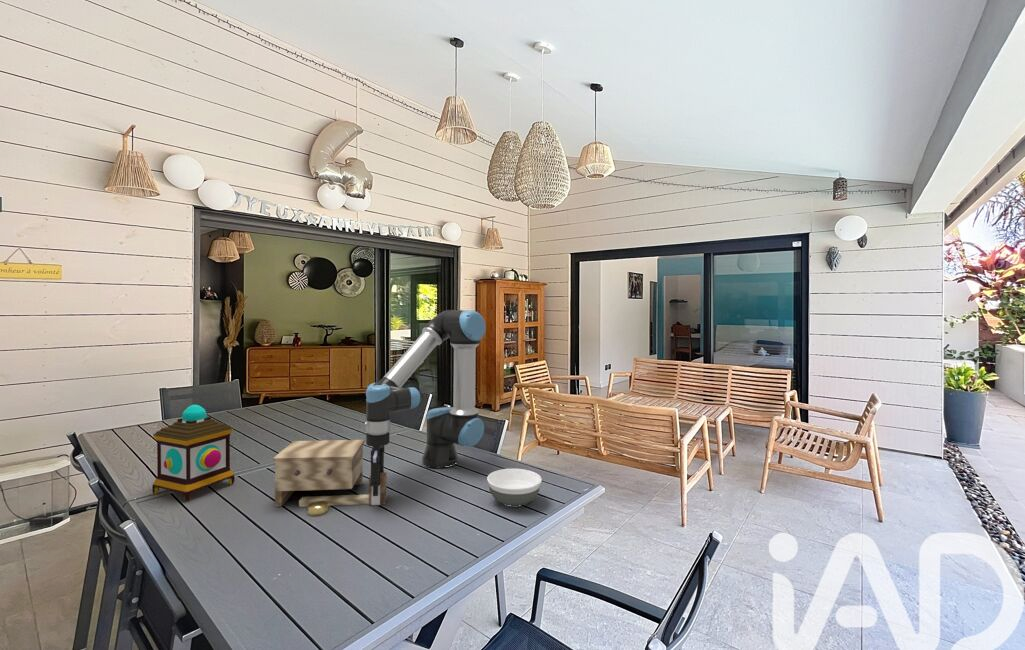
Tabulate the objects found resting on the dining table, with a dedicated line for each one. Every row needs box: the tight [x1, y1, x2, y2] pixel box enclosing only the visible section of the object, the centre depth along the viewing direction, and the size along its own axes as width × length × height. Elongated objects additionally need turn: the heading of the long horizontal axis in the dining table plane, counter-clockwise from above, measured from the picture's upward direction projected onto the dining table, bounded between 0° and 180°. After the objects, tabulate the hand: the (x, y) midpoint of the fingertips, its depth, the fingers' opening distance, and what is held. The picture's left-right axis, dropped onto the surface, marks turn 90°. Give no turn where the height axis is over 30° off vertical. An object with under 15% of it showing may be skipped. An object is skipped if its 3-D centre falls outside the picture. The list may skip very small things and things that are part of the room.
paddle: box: [298, 471, 387, 508], centre depth 149 cm, size 27×5×9 cm, turn 98°
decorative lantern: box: [151, 404, 235, 502], centre depth 158 cm, size 20×20×30 cm
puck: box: [307, 501, 329, 517], centre depth 143 cm, size 6×6×2 cm
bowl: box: [486, 468, 543, 506], centre depth 153 cm, size 19×19×8 cm
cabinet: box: [272, 439, 366, 507], centre depth 156 cm, size 25×20×16 cm
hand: (377, 500), depth 151 cm, fingers closed on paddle, 5 cm apart
